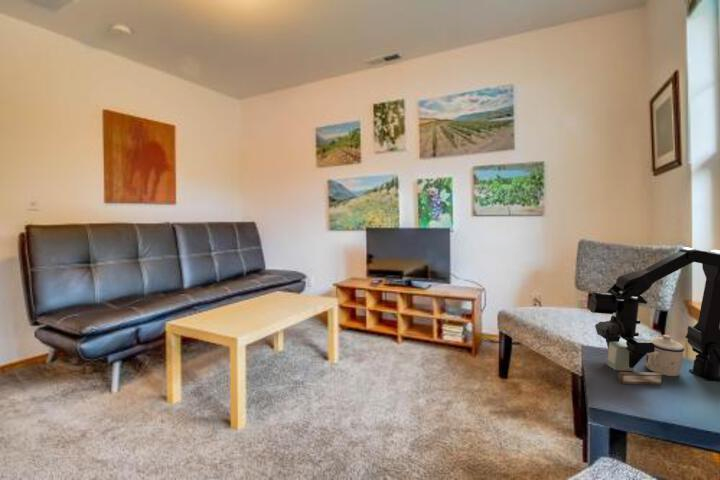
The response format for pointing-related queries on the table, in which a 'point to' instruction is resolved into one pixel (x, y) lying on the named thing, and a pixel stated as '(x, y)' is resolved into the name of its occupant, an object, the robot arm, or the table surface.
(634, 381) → the wooden block
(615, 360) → the sage tin
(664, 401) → the table surface
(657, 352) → the teacup with lid
